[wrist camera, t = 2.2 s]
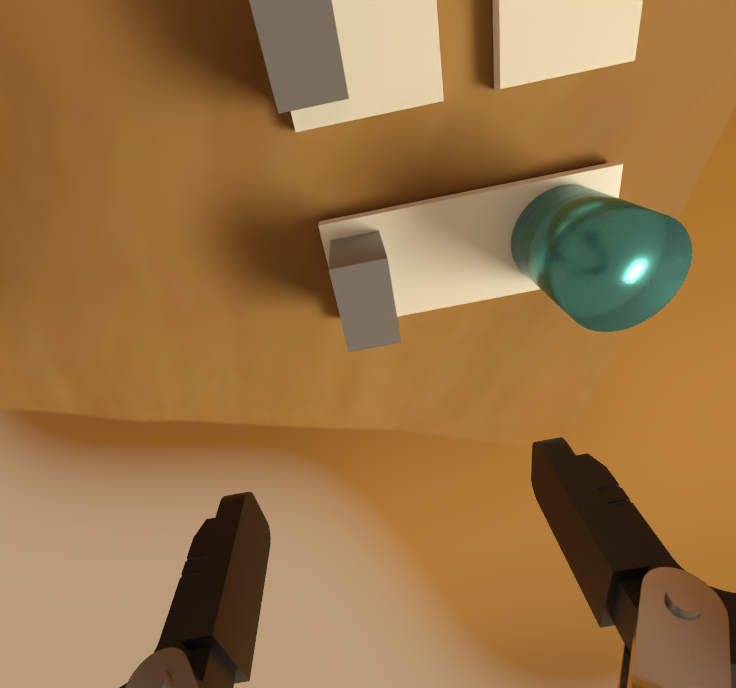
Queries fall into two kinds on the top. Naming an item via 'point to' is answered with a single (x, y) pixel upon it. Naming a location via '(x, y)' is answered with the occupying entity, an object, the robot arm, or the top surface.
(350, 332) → the cream flat board
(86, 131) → the top surface
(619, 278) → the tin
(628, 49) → the broken strip
